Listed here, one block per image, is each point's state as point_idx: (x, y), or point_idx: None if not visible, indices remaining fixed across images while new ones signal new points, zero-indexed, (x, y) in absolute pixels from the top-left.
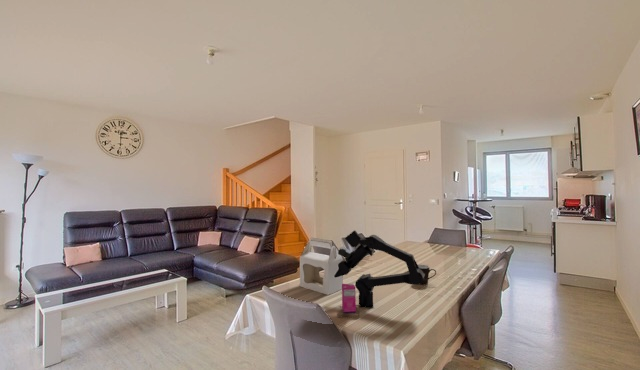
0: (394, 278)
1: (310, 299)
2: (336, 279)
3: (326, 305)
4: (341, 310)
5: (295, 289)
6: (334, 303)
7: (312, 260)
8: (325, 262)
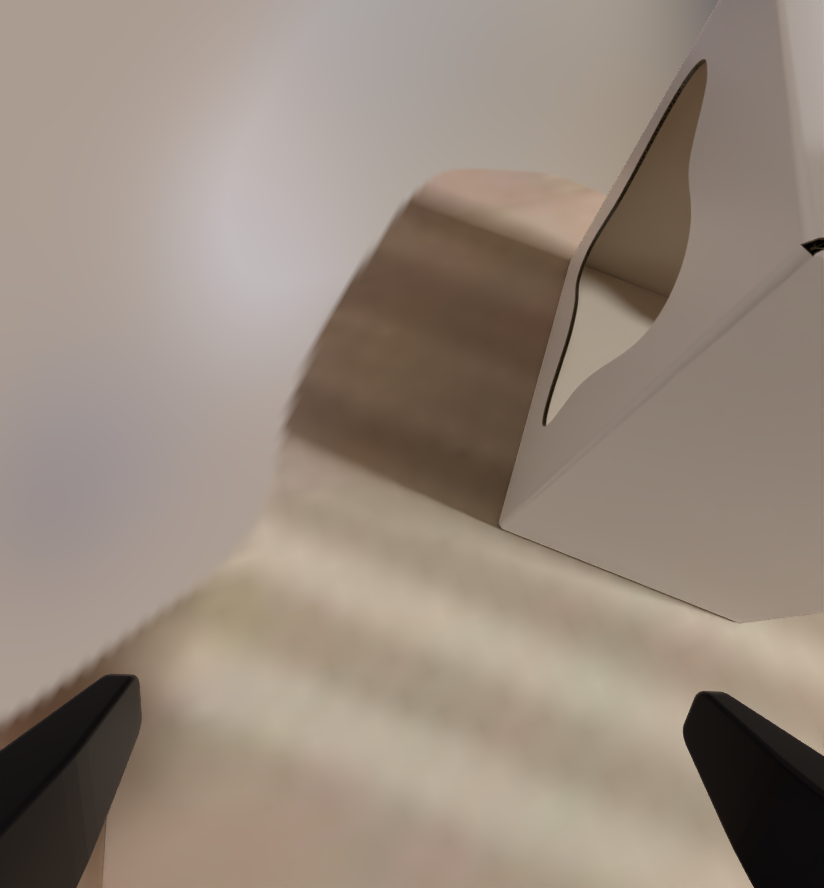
0: None
1: (329, 400)
2: (725, 545)
3: (207, 593)
4: None
5: (497, 250)
6: (286, 667)
7: (761, 31)
8: (792, 190)
